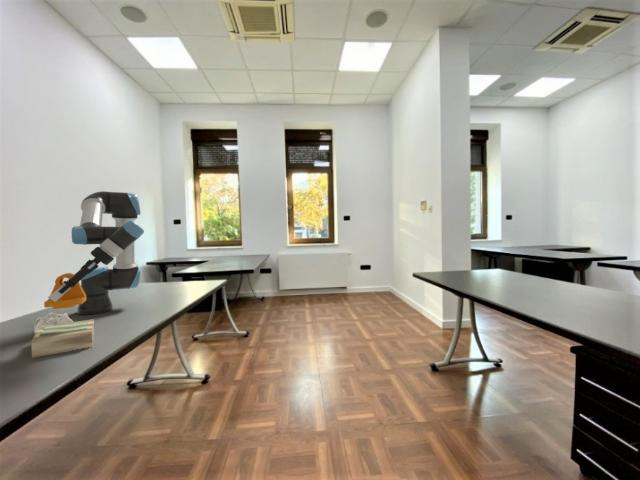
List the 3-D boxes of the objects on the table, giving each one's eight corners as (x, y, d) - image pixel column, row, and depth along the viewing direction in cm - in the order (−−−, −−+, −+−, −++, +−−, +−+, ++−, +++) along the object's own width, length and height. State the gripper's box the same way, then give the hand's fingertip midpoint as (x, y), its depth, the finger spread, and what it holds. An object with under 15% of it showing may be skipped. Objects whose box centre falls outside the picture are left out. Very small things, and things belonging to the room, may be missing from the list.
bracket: (43, 310, 103) (42, 276, 103) (50, 305, 109) (49, 274, 109) (81, 306, 108) (81, 274, 108) (86, 302, 114) (85, 272, 114)
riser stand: (41, 341, 112) (41, 325, 112) (94, 333, 121) (94, 318, 121) (31, 358, 97) (31, 339, 97) (92, 346, 107) (91, 329, 106)
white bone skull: (68, 319, 131) (70, 307, 126) (71, 336, 127) (74, 324, 122) (30, 326, 121) (32, 313, 117) (33, 344, 118) (34, 332, 113)
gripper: (115, 260, 109) (59, 309, 100) (114, 256, 126) (66, 298, 117) (97, 246, 106) (37, 296, 97) (99, 244, 122) (48, 287, 113)
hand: (53, 297), depth 107 cm, fingers closed on bracket, 7 cm apart
